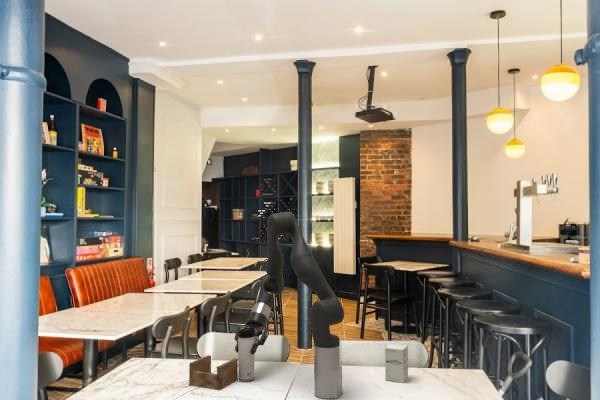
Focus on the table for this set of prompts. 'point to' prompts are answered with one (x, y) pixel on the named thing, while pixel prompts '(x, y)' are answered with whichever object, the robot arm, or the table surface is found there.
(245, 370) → the travel mug
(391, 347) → the supplement box
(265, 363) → the table surface
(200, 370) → the cradle
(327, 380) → the robot arm
